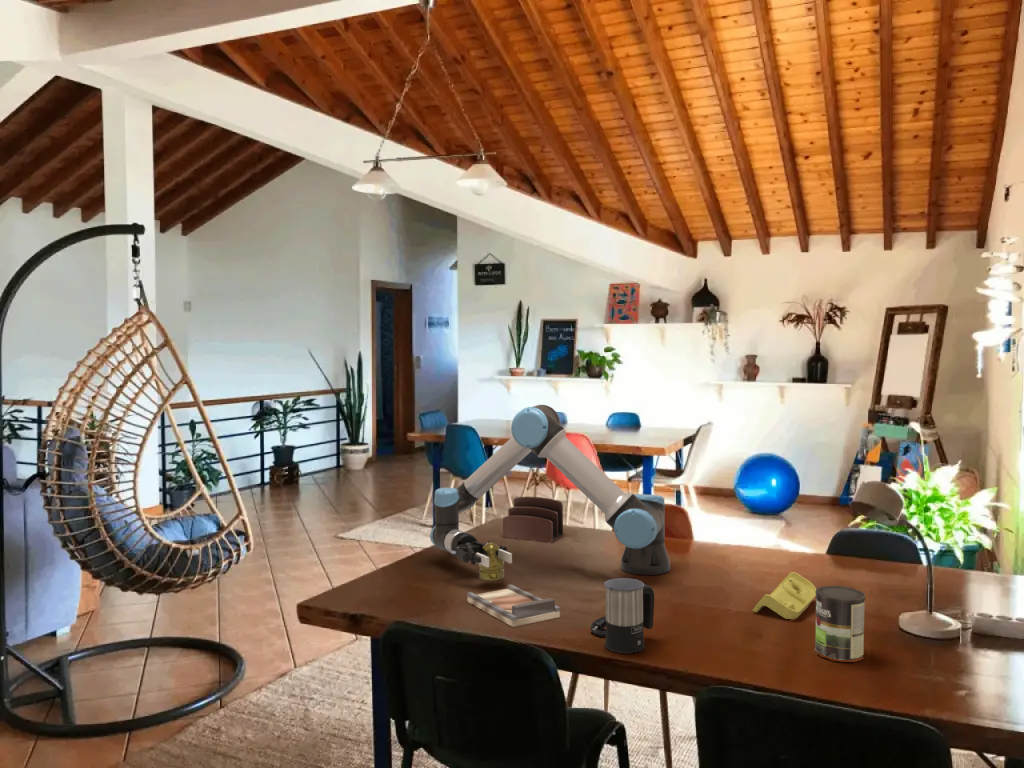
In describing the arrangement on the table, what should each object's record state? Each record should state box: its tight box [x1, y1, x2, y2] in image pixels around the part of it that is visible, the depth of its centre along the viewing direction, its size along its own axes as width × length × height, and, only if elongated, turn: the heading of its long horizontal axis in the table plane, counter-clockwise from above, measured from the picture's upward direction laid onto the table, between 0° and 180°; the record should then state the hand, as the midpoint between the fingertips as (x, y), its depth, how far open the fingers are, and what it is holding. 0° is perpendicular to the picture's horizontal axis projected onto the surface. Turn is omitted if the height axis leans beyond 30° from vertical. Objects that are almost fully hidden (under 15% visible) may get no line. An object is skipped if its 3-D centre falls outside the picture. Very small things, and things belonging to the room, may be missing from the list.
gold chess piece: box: [478, 541, 505, 581], centre depth 237 cm, size 7×7×10 cm
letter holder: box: [502, 496, 564, 544], centre depth 297 cm, size 10×20×14 cm, turn 63°
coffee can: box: [814, 585, 866, 660], centre depth 184 cm, size 10×10×14 cm
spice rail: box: [466, 584, 561, 628], centre depth 217 cm, size 24×14×4 cm, turn 31°
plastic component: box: [752, 571, 817, 620], centre depth 216 cm, size 20×7×10 cm
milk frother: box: [590, 577, 655, 654], centre depth 193 cm, size 14×16×15 cm
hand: (499, 560), depth 233 cm, fingers closed on gold chess piece, 7 cm apart
